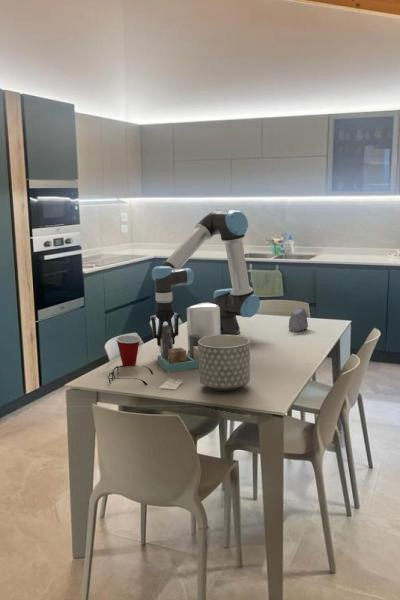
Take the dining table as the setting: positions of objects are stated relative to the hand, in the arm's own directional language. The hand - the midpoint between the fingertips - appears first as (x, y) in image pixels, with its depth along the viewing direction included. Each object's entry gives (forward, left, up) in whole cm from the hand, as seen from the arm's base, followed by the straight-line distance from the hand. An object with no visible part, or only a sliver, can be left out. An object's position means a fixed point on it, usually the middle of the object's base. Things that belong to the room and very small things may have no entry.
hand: (166, 351), depth 258 cm
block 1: (0, +9, -2) cm, 9 cm away
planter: (-8, +50, -2) cm, 51 cm away
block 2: (-11, +13, -2) cm, 17 cm away
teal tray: (-6, +14, -2) cm, 16 cm away
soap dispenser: (-22, -4, -2) cm, 22 cm away
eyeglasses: (+22, +26, -3) cm, 34 cm away
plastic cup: (+18, +6, -2) cm, 19 cm away
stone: (-78, -18, -2) cm, 80 cm away
